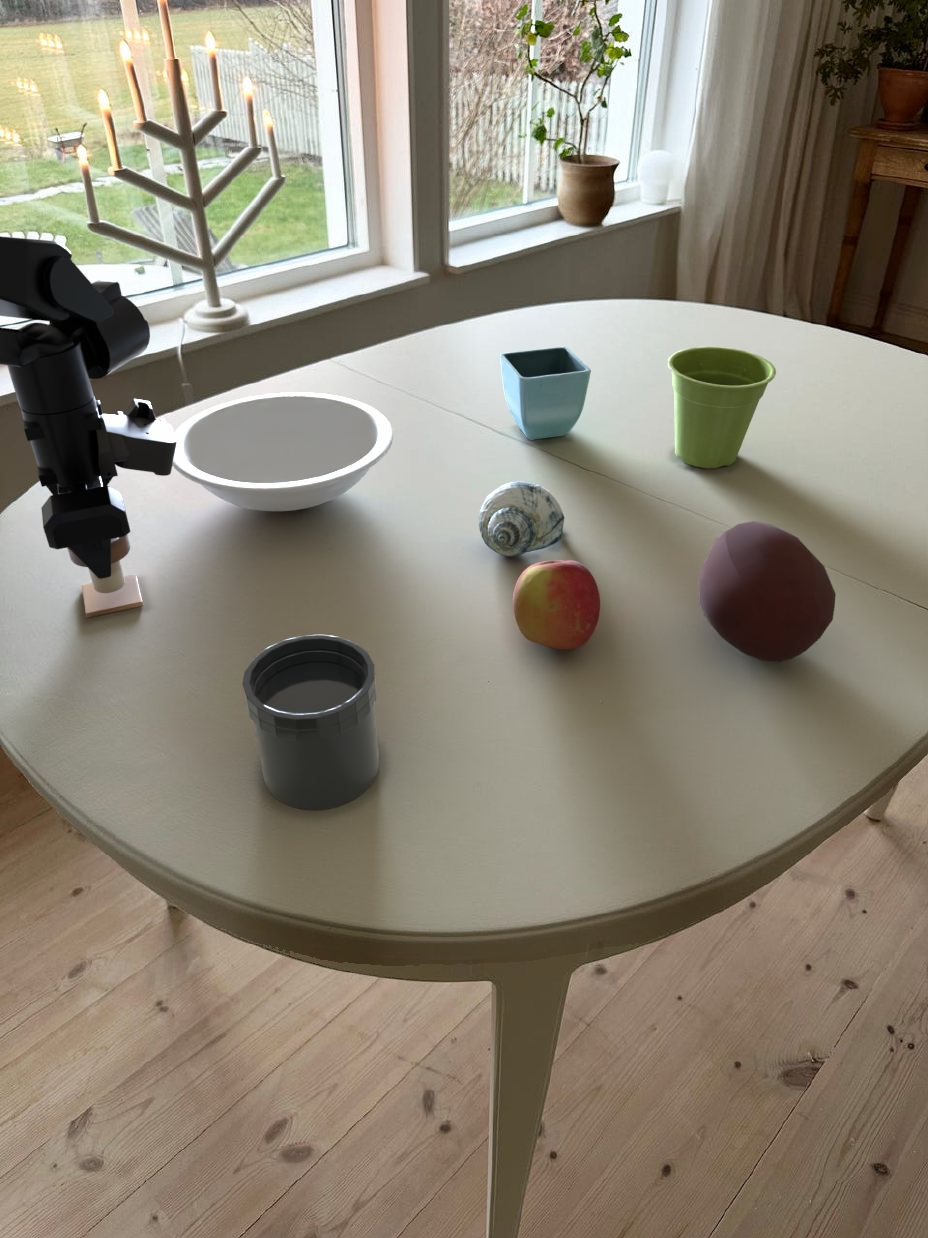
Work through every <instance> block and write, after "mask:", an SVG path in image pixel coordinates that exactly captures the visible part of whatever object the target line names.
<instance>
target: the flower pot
mask: <svg viewBox="0 0 928 1238" xmlns="http://www.w3.org/2000/svg"><path fill="white" fill-rule="evenodd" d="M499 356H500V357H499V358H500V368H501V378H502V379H501V380H502V387H503V393H504V398H505V401H506V405H507V407H508V410H509V412H510V414H511V416H512V418H513V420H514V422H515V424H516V425H517V427H518V428H519V429H520V431H521V432H522V433H523V434H524V436H525V437H526V439H528V440H540V439H549V438H555V437H563V436H566V435H568V434H569V433H570V432H571V431H572V430H573V428H574V427H575V426H576V424H577V422H578V420H579V419H580V417H581V414H582V413H583V410H584V406H585V402H586V398H587V393H588V388H589V382H590V377H591V372H592V370H591V368H589V366H588V365H586V364H585V363H584V362H583V361H582V360H581V359H580V358H579V357H578V356H577V355H575V353H573V352H572V351H571V349H570V348H568V347H566V346H557V347H546V348H538V349H537V348H536V349H529V350H519V351H511V352H509V351H508V352H503V353H500V354H499Z"/></svg>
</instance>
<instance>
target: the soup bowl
mask: <svg viewBox="0 0 928 1238" xmlns="http://www.w3.org/2000/svg"><path fill="white" fill-rule="evenodd" d="M174 434H175V437H176V439H177V443H176V448H175V454H174V459H173V464H172V468H174V469H175V470H176V471H177V472H178V473H179V474H180V475H181V476H183V477H185V478H186V479H188V480H190V481H192V482H194V483H197V484H199V485H200V486H201V487H203V488H204V489H206V490H207V491H208V492H210V493H211V494H213V495H214V496H216V497H217V498H219V499H221V500H223V501H225V502H228V503H230V504H232V505H235V506H237V507H242V508H245V509H250V510H254V511H262V512H290V511H299V510H304V509H305V510H306V509H309V508H313V507H316V506H319V505H323V504H325V503H327V502H330V501H332V500H334V499H336V498H338V497H340V496H342V495H344V494H345V493H346V492H347V491H349V490H350V489H352V488H353V487H355V485H357V484H358V483H359V482H360V481H361V480H362V479H363V478H364V477H365V476H366V474H367V473H368V472H369V470H370V469H371V468H372V467H373V466H375V465H376V464H378V462H380V461H381V460H382V459H383V458H384V457H386V455H387V453H388V452H389V451H390V450H391V449H390V448H391V446H392V444H393V441H394V431H393V428H392V425H391V423H390V421H389V420H388V418H387V417H386V416H384V415H383V413H381V412H380V411H378V410H377V409H376V408H374V407H372V406H370V405H368V404H367V403H363V402H361V401H359V400H355V399H352V398H348V397H344V396H339V395H334V394H328V393H327V394H326V393H315V392H280V393H279V392H278V393H267V394H261V395H260V394H259V395H253V396H248V397H244V398H243V397H242V398H240V399H235V400H231V401H228V402H224V403H221V404H218V405H215V406H213V407H210V408H208V409H205V410H203V411H201V412H199V413H197V414H196V415H193V416H192V417H190V418H189V419H187V420H186V421H185V422H183V423H182V424H181V425H180V426H179V427H177V428H176V430H175V431H174Z"/></svg>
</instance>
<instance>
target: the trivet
mask: <svg viewBox="0 0 928 1238" xmlns="http://www.w3.org/2000/svg"><path fill="white" fill-rule="evenodd" d="M124 578H125V585H124V586H123V587H122V588H121V589H119V590H118V591H115V592H111V593H99V592H97V591H96V590H95V589H94V586H93V583H92V582H91V583H86V584H81V591H82V598H83V599H82V600H83V606H84V613H85V617H86V618H87V619H88V618H93V617H96V616H102V615H108V614H110V613H116V612H121V611H124V610H125V611H126V610H130V609H134V608H139V607H143V606H144V603H143V599H142V598H143V597H142V594H141V590H140V586H139V585H140V584H139V581H138V576H137V574H136V573H134V574H130V575H124Z"/></svg>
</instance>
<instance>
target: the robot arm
mask: <svg viewBox="0 0 928 1238" xmlns="http://www.w3.org/2000/svg"><path fill="white" fill-rule="evenodd" d="M72 258H73V254H72V253H71V251H70V250H69V249H68V248H67V247H66V246H65V245H64V244H62V243H60V242H58V241H55V240H48V239H35V238H23V237H12V236H2V235H1V236H0V317H6V318H15V319H24V320H25V319H26V320H33V321H42V322H31V323H28V324H25V325H23V326H21V327H20V328H17V329H16V328H8V327H0V366H7V370H8V373H9V376H10V379H11V382H12V386H13V389H14V393H15V396H16V399H17V402H18V403H17V404H18V405H19V409H20V411H21V416H22V418H23V421H22V422H23V430H24V433H25V437H26V440H27V442H30V445H31V449H32V452H33V454H34V458H35V461H36V464H37V475H38V480H39V483H40V485H41V488H43V487H46V488H47V489H48V490H49V492H50V493H51V495H49V497H48V498H47V499H46V501H45V502H44V503H43V505H42V506H41V508H40V509H41V518H42V519H41V520H42V528H43V531H44V535H45V538H46V541H47V544H48V547H49V548H51V549H54V550H62V549H67V548H69V549H70V550H71V551H72V552H73V553H74V554H75V555H76V556H77V557H78V558H79V559H80V560H81V561H82V562H83V563H84V564H85V565H86V566H87V567H86V568H87V569H88V568H89V569H90V570H91V571H92V572H93V573H94V574H95V575H96V576H97V577H98V578H99V579H102V578H107V577H110V576H111V539H114V538H119V537H124V536H126V535H128V534H130V533H131V528H130V523H129V520H128V519H129V518H128V515H127V511H126V506H125V503H124V499H123V495H122V492H119V491H118V490H116V489H115V488H113V487H111V486H109V484H110V482H111V481H112V479H113V478H114V477H118V476H119V473H118V471H117V467H118V468H122V469H126V470H132V471H140V472H146V473H147V472H148V473H153V474H154V475H156V476H159V477H160V476H161V477H166V476H170V475H171V474H172V470H173V466H172V464H173V459H174V454H175V448H176V443H177V439H176V437H175V434H174V432H175V431H174V429H173V426H172V425H171V424H169V423H168V422H166V419H165V418H163V417H162V418H159V420H157V418H156V415H155V412H154V410H153V407H152V405H151V402H150V401H149V400H143V399H137V398H133V399H132V400H131V401H130V403H129V404H128V405H127V406H126V407H125V409H124V410H123V411H117V414H108V413H103V409H102V406H101V401H100V399H98V400H96V396H95V394H94V391H93V387H92V381H91V380H98V379H102V378H105V377H106V376H108V375H109V374H111V373H113V372H114V371H116V370H118V369H119V368H122V366H124V365H126V364H127V363H129V362H130V361H132V360H134V359H135V358H136V357H138V356H140V355H141V354H143V353H144V352H145V351H146V350H147V348H148V346H149V344H150V339H151V330H150V325H149V321H147V320H146V319H145V317H144V315H143V313H142V312H141V310H140V309H139V307H137V305H136V304H135V303H134V302H133V301H132V300H130V299H129V298H127V297H125V296H124V295H122V289H121V285H120V283H119V281H113V280H111V281H110V280H101V279H98V280H96V281H94V282H91V281H90V280H89V279H88V277H87V276H86V275H85V274H84V273H83V271H81V270H80V268H79V267H78V266H77V265H76V263H74V262H73V260H72ZM44 322H49V323H44ZM116 466H117V467H116ZM89 569H88V570H89Z"/></svg>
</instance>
